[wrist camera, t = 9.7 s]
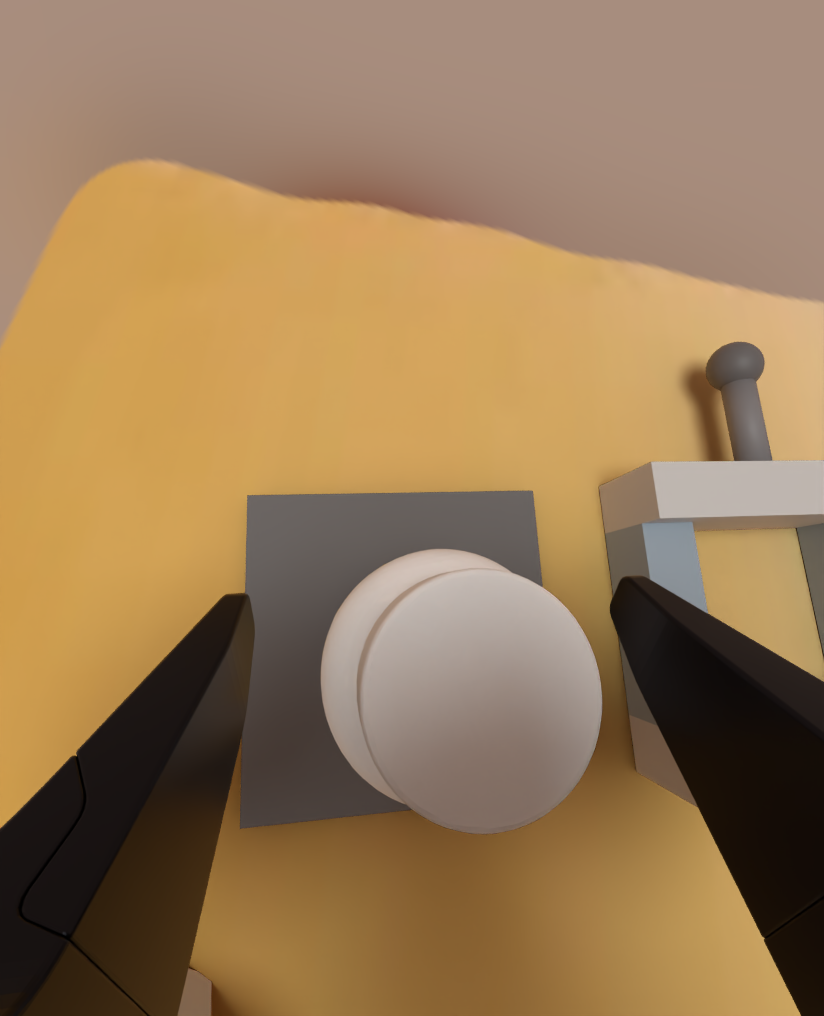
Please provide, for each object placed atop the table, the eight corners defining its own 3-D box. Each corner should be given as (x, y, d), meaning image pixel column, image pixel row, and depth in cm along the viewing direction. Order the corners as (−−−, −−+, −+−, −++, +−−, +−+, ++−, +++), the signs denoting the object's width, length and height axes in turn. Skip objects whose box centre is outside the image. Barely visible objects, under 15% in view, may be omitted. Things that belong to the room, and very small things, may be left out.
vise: (886, 745, 19) (1003, 776, 16) (636, 771, 17) (705, 812, 14) (800, 371, 22) (881, 329, 19) (583, 366, 21) (628, 319, 17)
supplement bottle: (502, 683, 17) (703, 780, 7) (365, 757, 16) (399, 982, 6) (439, 547, 18) (551, 479, 8) (304, 608, 17) (251, 611, 7)
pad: (557, 787, 17) (563, 792, 16) (243, 821, 15) (239, 828, 15) (528, 493, 19) (532, 490, 19) (250, 498, 18) (247, 495, 17)
